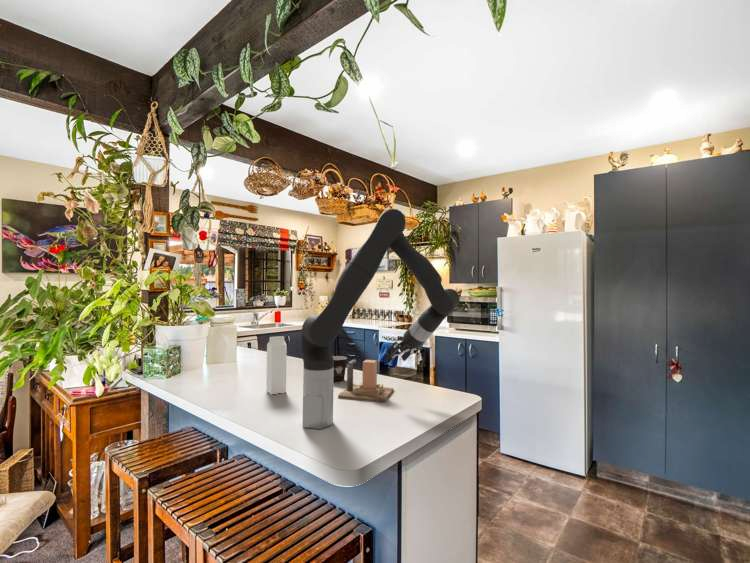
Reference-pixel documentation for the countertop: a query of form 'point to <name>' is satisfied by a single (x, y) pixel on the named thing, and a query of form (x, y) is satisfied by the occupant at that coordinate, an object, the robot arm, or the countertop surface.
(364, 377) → the link block
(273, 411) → the countertop surface
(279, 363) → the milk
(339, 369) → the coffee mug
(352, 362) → the pintle seat
